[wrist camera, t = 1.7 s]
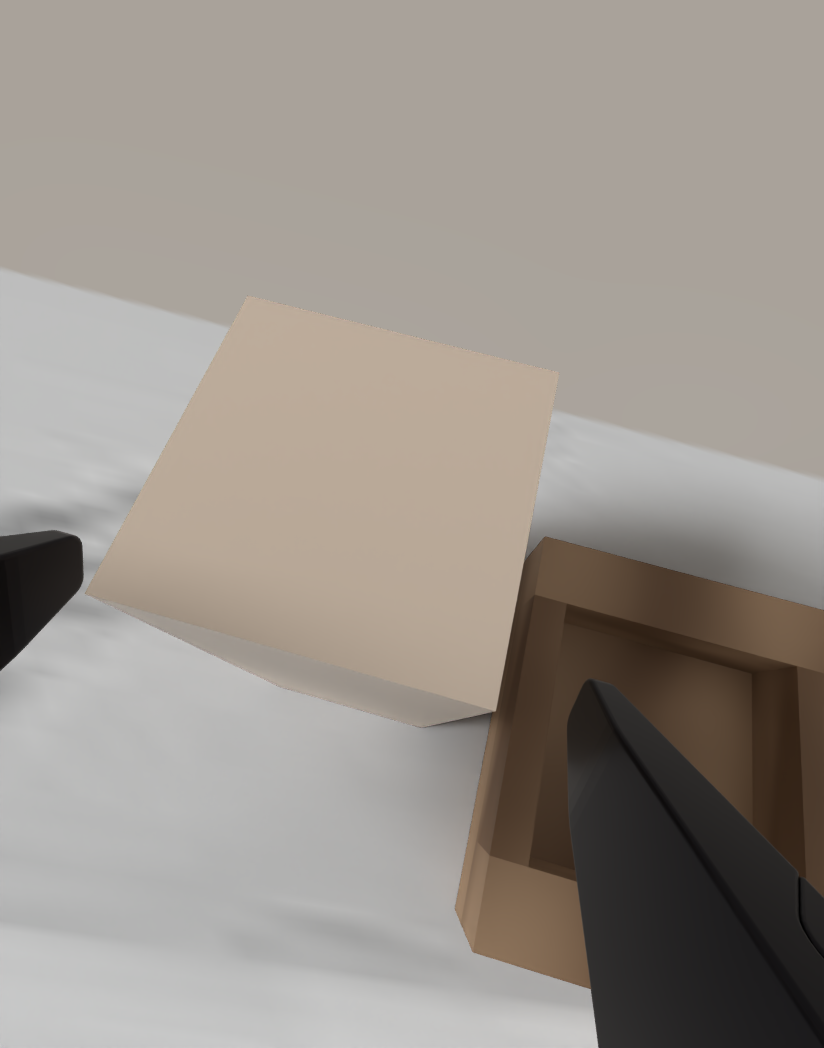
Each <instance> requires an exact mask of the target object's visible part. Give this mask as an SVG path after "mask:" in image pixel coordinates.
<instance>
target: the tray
mask: <svg viewBox="0 0 824 1048" xmlns="http://www.w3.org/2000/svg"><path fill="white" fill-rule="evenodd" d="M590 678H592V679H596V680H600V681H603V682H607V683H610V684H613V685H614V686H615V687H616V688H617V689H618V690H619V691H620V692H621V693H622V694H623V695H624V696H625V697H626V698H627V699H628V700H629V701H630V702H631V703H632V704H633V705H634V706H635V707H636V708H637V709H638V710H639V711H640V712H641V713H642V714H643V715H644V716H645V717H646V718H647V719H648V720H649V721H650V722H651V723H652V724H653V725H654V726H655V727H656V728H657V729H658V730H659V731H660V732H661V733H662V734H663V735H664V736H665V737H666V738H667V739H668V740H669V741H670V742H671V743H672V744H673V745H674V746H675V747H676V748H677V749H678V750H679V752H680V753H681V754H682V755H683V756H684V757H685V758H686V759H687V760H688V761H689V762H690V763H691V764H692V765H693V766H694V767H695V768H696V769H697V770H698V771H699V772H700V773H701V774H702V775H703V776H704V777H705V778H706V779H707V780H708V781H709V782H710V783H711V784H712V785H713V786H714V787H715V788H716V789H717V790H718V791H719V792H720V793H721V794H722V795H723V796H724V797H725V798H726V799H727V800H728V801H729V802H730V803H731V804H732V805H733V806H734V807H735V808H736V809H737V810H738V811H739V812H740V813H741V814H742V815H743V816H744V817H745V818H746V819H747V820H748V821H749V822H750V823H751V824H752V825H753V826H754V827H755V828H756V829H757V830H758V831H759V832H760V833H761V834H762V835H763V836H764V837H765V838H766V839H767V840H768V841H769V842H770V844H771V845H772V846H773V847H774V848H775V849H776V850H777V851H778V852H779V853H780V854H781V855H782V856H783V857H784V858H785V859H786V860H787V861H788V862H789V863H790V864H791V865H792V866H793V867H794V868H795V869H796V870H797V871H798V873H799V877H804V878H805V879H806V880H807V881H808V882H809V883H810V884H811V885H812V886H813V887H814V888H815V889H816V890H817V891H818V892H819V893H820V894H821V895H822V896H823V897H824V610H821V609H817V608H813V607H809V606H805V605H802V604H798V603H794V602H790V601H787V600H783V599H779V598H775V597H772V596H768V595H764V594H760V593H756V592H753V591H749V590H745V589H741V588H738V587H734V586H730V585H726V584H723V583H719V582H715V581H711V580H708V579H704V578H700V577H696V576H692V575H689V574H685V573H681V572H677V571H674V570H670V569H666V568H662V567H659V566H655V565H651V564H647V563H643V562H640V561H636V560H632V559H628V558H625V557H621V556H617V555H613V554H610V553H606V552H602V551H598V550H595V549H591V548H587V547H583V546H579V545H576V544H572V543H568V542H564V541H561V540H557V539H553V538H549V537H546V536H545V537H544V538H543V539H542V540H541V542H540V543H539V544H538V545H537V547H536V548H535V549H534V550H533V552H532V553H531V554H530V555H529V557H528V558H527V559H526V560H525V561H524V564H523V569H522V574H521V580H520V585H519V590H518V596H517V601H516V606H515V612H514V617H513V622H512V628H511V633H510V638H509V644H508V649H507V654H506V660H505V665H504V670H503V676H502V681H501V686H500V692H499V697H498V702H497V708H496V711H495V712H492V716H491V722H490V727H489V732H488V738H487V743H486V748H485V753H484V759H483V764H482V769H481V774H480V780H479V785H478V790H477V795H476V801H475V806H474V811H473V816H472V822H471V827H470V832H469V838H468V843H467V848H466V853H465V859H464V864H463V869H462V874H461V880H460V885H459V890H458V895H457V901H456V906H455V911H456V913H457V916H458V918H459V920H460V923H461V925H462V927H463V930H464V932H465V935H466V937H467V939H468V942H469V944H470V947H471V949H472V951H473V952H474V953H477V954H480V955H483V956H487V957H490V958H493V959H496V960H499V961H503V962H506V963H509V964H512V965H515V966H519V967H522V968H525V969H528V970H531V971H534V972H538V973H541V974H544V975H547V976H550V977H554V978H557V979H560V980H563V981H566V982H570V983H573V984H576V985H579V986H582V987H586V988H589V989H591V986H590V978H589V971H588V963H587V956H586V948H585V940H584V933H583V925H582V918H581V910H580V902H579V895H578V887H577V879H576V872H575V864H574V857H573V849H572V841H571V834H570V824H569V811H568V770H567V722H568V717H569V714H570V712H571V710H572V707H573V705H574V703H575V701H576V699H577V696H578V694H579V692H580V690H581V688H582V685H583V684H584V682H585V681H586V680H587V679H590Z"/></svg>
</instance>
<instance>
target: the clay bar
mask: <svg viewBox="0 0 824 1048" xmlns="http://www.w3.org/2000/svg"><path fill="white" fill-rule="evenodd" d="M558 377H559V372H555V371H551V370H547V369H543V368H538V367H534V366H530V365H526V364H522V363H518V362H514V361H510V360H506V359H502V358H498V357H493V356H490V355H486V354H482V353H478V352H474V351H469V350H466V349H461V348H457V347H454V346H449V345H446V344H441V343H437V342H433V341H429V340H425V339H421V338H417V337H413V336H409V335H405V334H401V333H397V332H393V331H389V330H385V329H381V328H377V327H373V326H369V325H365V324H360V323H356V322H353V321H348V320H344V319H340V318H336V317H332V316H328V315H324V314H320V313H316V312H312V311H308V310H304V309H300V308H296V307H292V306H287V305H284V304H280V303H275V302H272V301H268V300H264V299H260V298H256V297H251V296H247V298H246V300H245V302H244V303H243V305H242V307H241V309H240V311H239V313H238V315H237V316H236V318H235V320H234V322H233V324H232V325H231V327H230V329H229V331H228V333H227V335H226V336H225V338H224V340H223V342H222V344H221V346H220V347H219V349H218V351H217V353H216V355H215V356H214V358H213V360H212V362H211V364H210V366H209V367H208V369H207V371H206V373H205V375H204V377H203V378H202V380H201V382H200V384H199V386H198V388H197V389H196V391H195V393H194V395H193V397H192V398H191V400H190V402H189V404H188V406H187V408H186V409H185V411H184V413H183V415H182V417H181V419H180V420H179V422H178V424H177V426H176V428H175V430H174V431H173V433H172V435H171V437H170V439H169V440H168V442H167V444H166V446H165V448H164V450H163V451H162V453H161V455H160V457H159V459H158V461H157V462H156V464H155V466H154V468H153V470H152V472H151V473H150V475H149V477H148V479H147V481H146V483H145V484H144V486H143V488H142V490H141V492H140V493H139V495H138V497H137V499H136V501H135V503H134V504H133V506H132V508H131V510H130V512H129V514H128V515H127V517H126V519H125V521H124V523H123V525H122V526H121V528H120V530H119V532H118V534H117V535H116V537H115V539H114V541H113V543H112V545H111V546H110V548H109V550H108V552H107V554H106V556H105V557H104V559H103V561H102V563H101V565H100V567H99V568H98V570H97V572H96V574H95V576H94V578H93V579H92V581H91V583H90V585H89V587H88V588H87V590H86V592H85V594H86V595H88V596H90V597H93V598H95V599H97V600H99V601H101V602H103V603H105V604H107V605H109V606H111V607H113V608H115V609H118V610H120V611H122V612H124V613H126V614H128V615H130V616H132V617H134V618H136V619H138V620H141V621H143V622H145V623H147V624H149V625H151V626H153V627H155V628H157V629H159V630H161V631H164V632H166V633H168V634H170V635H172V636H174V637H176V638H178V639H180V640H182V641H184V642H187V643H189V644H191V645H193V646H195V647H197V648H199V649H201V650H203V651H205V652H207V653H210V654H212V655H214V656H216V657H218V658H220V659H222V660H224V661H226V662H228V663H230V664H232V665H235V666H237V667H239V668H241V669H243V670H245V671H247V672H249V673H251V674H253V675H255V676H258V677H260V678H262V679H264V680H266V681H268V682H270V683H272V684H274V685H276V686H278V687H282V688H285V689H289V690H292V691H296V692H299V693H303V694H306V695H309V696H313V697H316V698H320V699H323V700H327V701H330V702H334V703H337V704H340V705H344V706H347V707H351V708H354V709H358V710H361V711H365V712H368V713H371V714H375V715H378V716H382V717H385V718H389V719H392V720H396V721H399V722H402V723H406V724H409V725H413V726H416V727H420V728H423V727H427V726H432V725H436V724H441V723H445V722H450V721H454V720H459V719H463V718H468V717H473V716H477V715H482V714H486V713H491V712H495V711H496V708H497V702H498V697H499V692H500V686H501V681H502V676H503V670H504V665H505V660H506V654H507V649H508V644H509V638H510V633H511V628H512V622H513V617H514V612H515V606H516V601H517V596H518V590H519V585H520V580H521V574H522V569H523V564H524V558H525V553H526V548H527V542H528V537H529V532H530V526H531V521H532V516H533V510H534V505H535V500H536V494H537V489H538V484H539V478H540V473H541V468H542V462H543V457H544V452H545V446H546V441H547V436H548V430H549V425H550V420H551V414H552V409H553V404H554V398H555V393H556V388H557V382H558Z"/></svg>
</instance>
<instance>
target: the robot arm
mask: <svg viewBox="0 0 824 1048" xmlns="http://www.w3.org/2000/svg"><path fill="white" fill-rule="evenodd" d="M83 577H84V573H83V549H82V542H81V540H80V538H78V537H77V536H75V535H72V534H68V533H65V532H61V531H57V530H50V531H42V532H34V533H25V534H17V535H9V536H1V537H0V671H1V670H2V669H3V668H4V667H5V666H6V665H7V664H8V663H9V662H10V661H12V660H13V659H14V658H15V657H16V656H17V655H18V654H19V653H20V652H21V651H22V650H23V649H24V648H25V647H26V646H27V645H28V644H29V642H30V641H31V640H32V639H33V638H34V637H35V636H36V635H37V634H38V633H39V632H40V631H41V630H42V629H43V628H44V627H45V625H46V624H47V623H48V622H49V621H50V620H51V619H52V618H53V617H54V616H55V615H56V614H57V613H58V612H59V611H60V610H61V608H62V607H63V606H64V605H65V604H66V603H67V602H68V601H69V600H70V599H71V598H72V597H73V596H74V595H75V594H76V592H77V591H78V590H79V588H80V587H81V585H82V582H83ZM567 770H568V811H569V824H570V834H571V841H572V849H573V857H574V864H575V872H576V879H577V887H578V895H579V902H580V910H581V918H582V925H583V933H584V940H585V948H586V956H587V963H588V971H589V978H590V986H591V994H592V1001H593V1009H594V1017H595V1024H596V1032H597V1039H598V1047H599V1048H824V897H823V896H822V895H821V894H820V893H819V892H818V891H817V890H816V889H815V888H814V887H813V886H812V885H811V884H810V883H809V882H808V881H807V880H806V879H805V878H804V877H799V873H798V871H797V870H796V869H795V868H794V867H793V866H792V865H791V864H790V863H789V862H788V861H787V860H786V859H785V858H784V857H783V856H782V855H781V854H780V853H779V852H778V851H777V850H776V849H775V848H774V847H773V846H772V845H771V844H770V842H769V841H768V840H767V839H766V838H765V837H764V836H763V835H762V834H761V833H760V832H759V831H758V830H757V829H756V828H755V827H754V826H753V825H752V824H751V823H750V822H749V821H748V820H747V819H746V818H745V817H744V816H743V815H742V814H741V813H740V812H739V811H738V810H737V809H736V808H735V807H734V806H733V805H732V804H731V803H730V802H729V801H728V800H727V799H726V798H725V797H724V796H723V795H722V794H721V793H720V792H719V791H718V790H717V789H716V788H715V787H714V786H713V785H712V784H711V783H710V782H709V781H708V780H707V779H706V778H705V777H704V776H703V775H702V774H701V773H700V772H699V771H698V770H697V769H696V768H695V767H694V766H693V765H692V764H691V763H690V762H689V761H688V760H687V759H686V758H685V757H684V756H683V755H682V754H681V753H680V752H679V750H678V749H677V748H676V747H675V746H674V745H673V744H672V743H671V742H670V741H669V740H668V739H667V738H666V737H665V736H664V735H663V734H662V733H661V732H660V731H659V730H658V729H657V728H656V727H655V726H654V725H653V724H652V723H651V722H650V721H649V720H648V719H647V718H646V717H645V716H644V715H643V714H642V713H641V712H640V711H639V710H638V709H637V708H636V707H635V706H634V705H633V704H632V703H631V702H630V701H629V700H628V699H627V698H626V697H625V696H624V695H623V694H622V693H621V692H620V691H619V690H618V689H617V688H616V687H615V686H614V685H613V684H610V683H607V682H603V681H600V680H596V679H592V678H590V679H587V680H586V681H585V682H584V684H583V685H582V688H581V690H580V692H579V694H578V696H577V699H576V701H575V703H574V705H573V707H572V710H571V712H570V714H569V717H568V722H567Z"/></svg>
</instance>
